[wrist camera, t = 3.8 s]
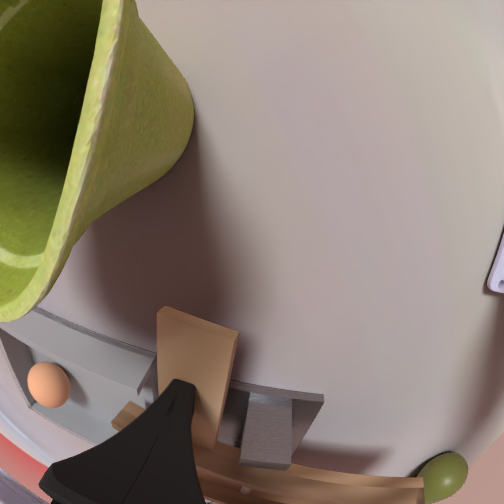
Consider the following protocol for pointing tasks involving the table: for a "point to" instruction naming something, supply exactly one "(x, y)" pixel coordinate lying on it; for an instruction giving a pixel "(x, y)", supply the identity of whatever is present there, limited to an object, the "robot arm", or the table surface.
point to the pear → (443, 476)
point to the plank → (226, 456)
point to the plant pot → (76, 130)
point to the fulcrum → (266, 423)
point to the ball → (48, 384)
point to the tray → (80, 372)
